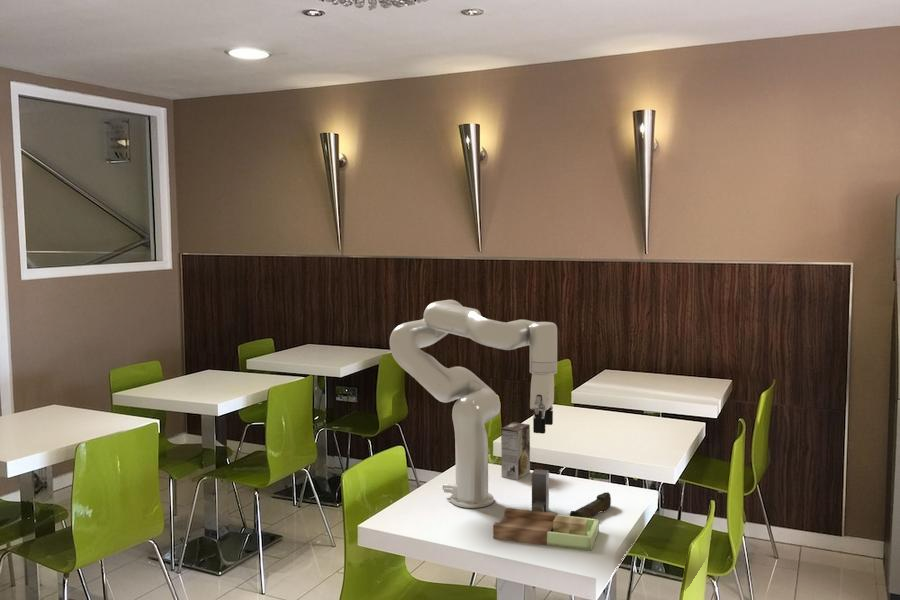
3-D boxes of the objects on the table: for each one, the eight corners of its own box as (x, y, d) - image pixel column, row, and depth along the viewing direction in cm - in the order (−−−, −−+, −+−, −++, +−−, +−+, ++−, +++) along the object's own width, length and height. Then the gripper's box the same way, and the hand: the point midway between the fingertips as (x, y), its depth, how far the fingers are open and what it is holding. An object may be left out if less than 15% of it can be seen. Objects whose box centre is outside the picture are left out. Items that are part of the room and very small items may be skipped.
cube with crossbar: (530, 518, 210) (530, 475, 209) (536, 508, 218) (536, 467, 217) (544, 519, 209) (544, 477, 208) (550, 509, 217) (550, 468, 216)
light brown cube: (553, 536, 196) (553, 520, 196) (556, 530, 200) (556, 515, 200) (568, 538, 195) (568, 522, 195) (571, 532, 199) (571, 517, 198)
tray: (547, 545, 192) (547, 532, 192) (557, 526, 204) (557, 514, 204) (591, 550, 189) (591, 538, 188) (598, 531, 201) (598, 519, 201)
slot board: (493, 538, 197) (493, 524, 196) (506, 520, 209) (506, 507, 209) (547, 545, 192) (547, 531, 192) (557, 526, 204) (557, 513, 204)
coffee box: (512, 469, 254) (512, 421, 253) (530, 472, 251) (530, 423, 250) (500, 477, 246) (500, 427, 245) (518, 480, 243) (518, 430, 242)
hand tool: (581, 527, 204) (581, 510, 204) (569, 523, 207) (569, 506, 206) (618, 508, 218) (619, 493, 217) (606, 505, 221) (606, 489, 220)
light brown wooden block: (568, 538, 195) (568, 522, 195) (571, 532, 199) (571, 517, 198) (584, 540, 194) (584, 524, 193) (587, 534, 197) (587, 519, 197)
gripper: (536, 361, 219) (536, 420, 221) (522, 371, 203) (522, 435, 204) (563, 362, 217) (562, 422, 218) (550, 373, 200) (550, 437, 202)
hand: (543, 428), depth 211 cm, fingers open, 9 cm apart
